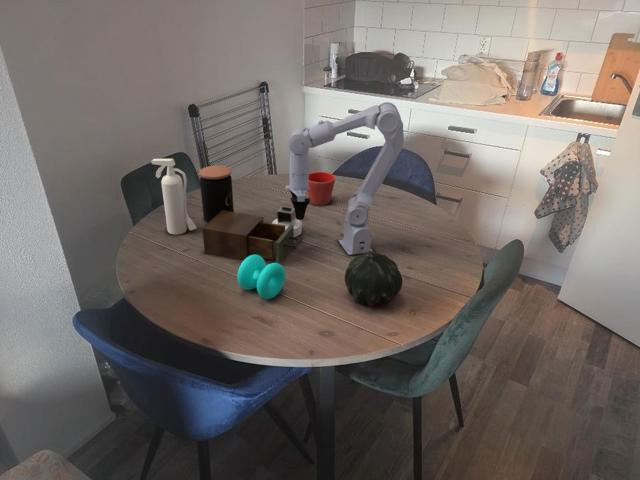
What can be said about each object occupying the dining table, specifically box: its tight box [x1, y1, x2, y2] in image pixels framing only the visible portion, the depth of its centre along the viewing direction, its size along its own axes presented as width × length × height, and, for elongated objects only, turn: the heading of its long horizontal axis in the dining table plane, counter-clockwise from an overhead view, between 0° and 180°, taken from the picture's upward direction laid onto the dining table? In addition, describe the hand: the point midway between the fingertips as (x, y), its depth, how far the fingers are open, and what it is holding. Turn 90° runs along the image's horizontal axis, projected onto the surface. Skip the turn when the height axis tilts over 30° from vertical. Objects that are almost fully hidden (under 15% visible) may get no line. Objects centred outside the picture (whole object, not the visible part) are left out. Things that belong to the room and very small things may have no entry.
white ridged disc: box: [271, 217, 303, 238], centre depth 165 cm, size 10×10×4 cm
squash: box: [344, 251, 403, 307], centre depth 130 cm, size 14×15×15 cm
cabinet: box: [201, 210, 265, 261], centre depth 156 cm, size 15×14×9 cm
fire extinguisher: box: [150, 158, 197, 236], centre depth 161 cm, size 7×12×25 cm, turn 74°
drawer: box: [247, 221, 303, 264], centre depth 152 cm, size 18×12×7 cm
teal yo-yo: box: [237, 255, 286, 300], centre depth 133 cm, size 10×10×10 cm
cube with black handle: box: [276, 205, 296, 226], centre depth 163 cm, size 5×4×5 cm
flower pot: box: [307, 171, 336, 206], centre depth 185 cm, size 11×11×10 cm
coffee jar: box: [198, 165, 235, 224], centre depth 170 cm, size 11×11×18 cm
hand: (298, 213), depth 154 cm, fingers open, 7 cm apart
